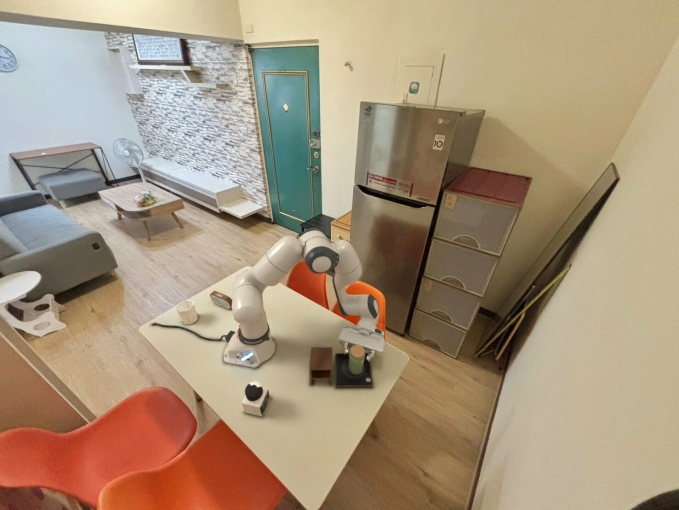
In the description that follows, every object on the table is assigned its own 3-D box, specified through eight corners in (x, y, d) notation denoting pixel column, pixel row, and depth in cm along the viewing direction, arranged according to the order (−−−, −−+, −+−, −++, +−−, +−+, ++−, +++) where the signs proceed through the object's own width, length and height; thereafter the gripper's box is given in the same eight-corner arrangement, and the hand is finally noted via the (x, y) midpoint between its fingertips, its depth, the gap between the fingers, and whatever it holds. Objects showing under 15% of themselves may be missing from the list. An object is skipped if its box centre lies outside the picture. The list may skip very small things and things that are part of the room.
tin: (236, 308, 142) (233, 296, 137) (231, 312, 140) (228, 300, 135) (215, 299, 147) (212, 288, 142) (211, 303, 145) (207, 291, 140)
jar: (348, 374, 110) (350, 357, 104) (347, 360, 115) (349, 344, 109) (363, 374, 110) (366, 357, 104) (362, 360, 116) (364, 344, 109)
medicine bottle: (262, 417, 98) (257, 400, 91) (244, 412, 99) (238, 395, 92) (270, 398, 103) (266, 380, 97) (253, 394, 104) (248, 376, 98)
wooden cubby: (310, 384, 108) (309, 369, 102) (311, 362, 117) (311, 347, 111) (332, 384, 109) (332, 368, 103) (332, 362, 117) (332, 347, 111)
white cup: (202, 318, 136) (197, 303, 130) (187, 327, 130) (181, 313, 125) (193, 311, 139) (187, 297, 134) (178, 321, 134) (172, 306, 128)
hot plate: (335, 388, 108) (335, 384, 106) (335, 355, 120) (335, 351, 118) (372, 387, 108) (373, 383, 106) (368, 355, 121) (368, 351, 119)
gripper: (343, 320, 120) (333, 344, 109) (387, 333, 115) (381, 359, 104) (342, 330, 124) (333, 354, 113) (386, 342, 119) (379, 368, 108)
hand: (356, 356), depth 109 cm, fingers open, 8 cm apart
